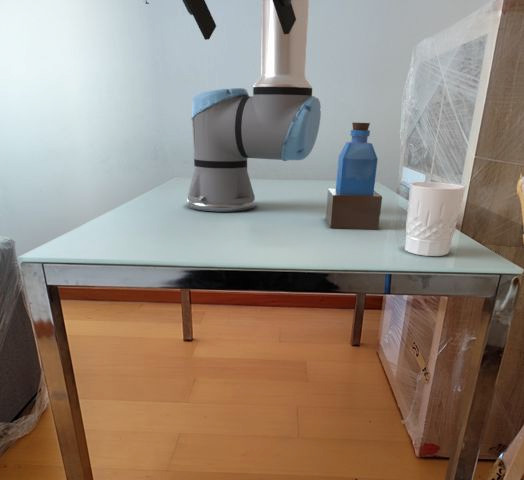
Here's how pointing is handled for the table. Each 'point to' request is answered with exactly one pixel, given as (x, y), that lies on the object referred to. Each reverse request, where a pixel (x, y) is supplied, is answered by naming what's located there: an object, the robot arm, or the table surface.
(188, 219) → the table surface
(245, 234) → the table surface
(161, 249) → the table surface
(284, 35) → the robot arm
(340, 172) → the perfume bottle
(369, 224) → the walnut block
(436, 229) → the white cup
